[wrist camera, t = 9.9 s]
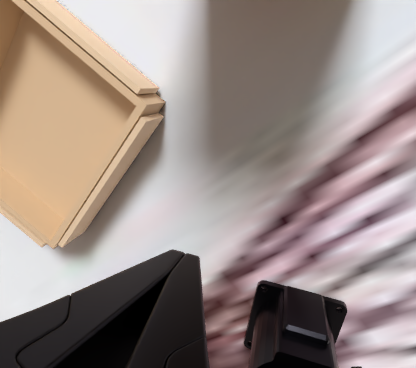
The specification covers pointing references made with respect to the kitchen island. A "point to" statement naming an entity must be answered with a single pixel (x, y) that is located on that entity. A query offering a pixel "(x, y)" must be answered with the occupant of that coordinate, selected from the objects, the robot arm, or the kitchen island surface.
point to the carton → (64, 120)
